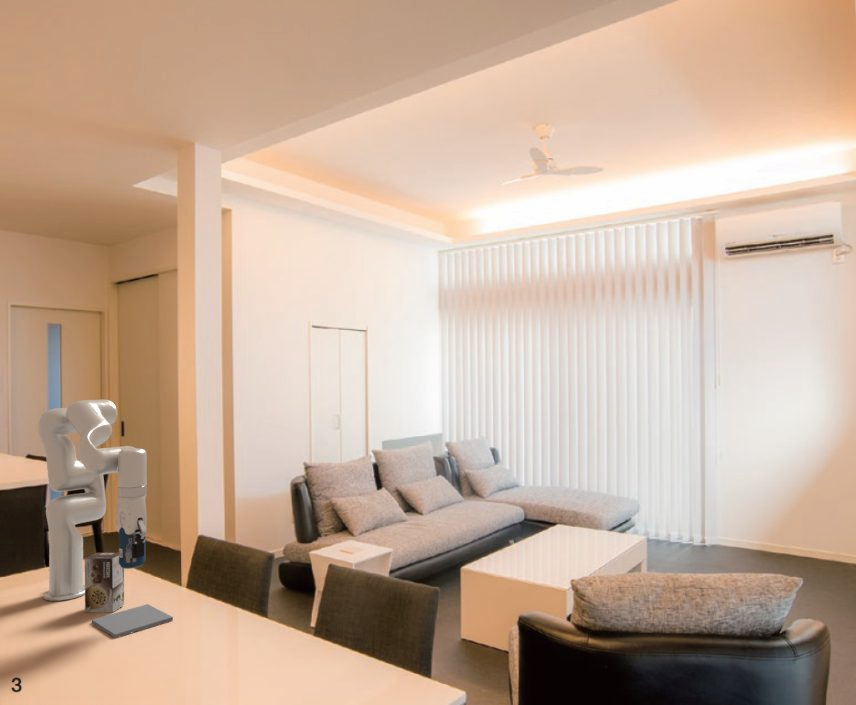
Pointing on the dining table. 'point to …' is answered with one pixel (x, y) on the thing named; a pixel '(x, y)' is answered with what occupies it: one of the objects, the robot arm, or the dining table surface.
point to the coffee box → (103, 583)
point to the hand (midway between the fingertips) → (132, 554)
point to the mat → (131, 620)
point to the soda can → (128, 551)
